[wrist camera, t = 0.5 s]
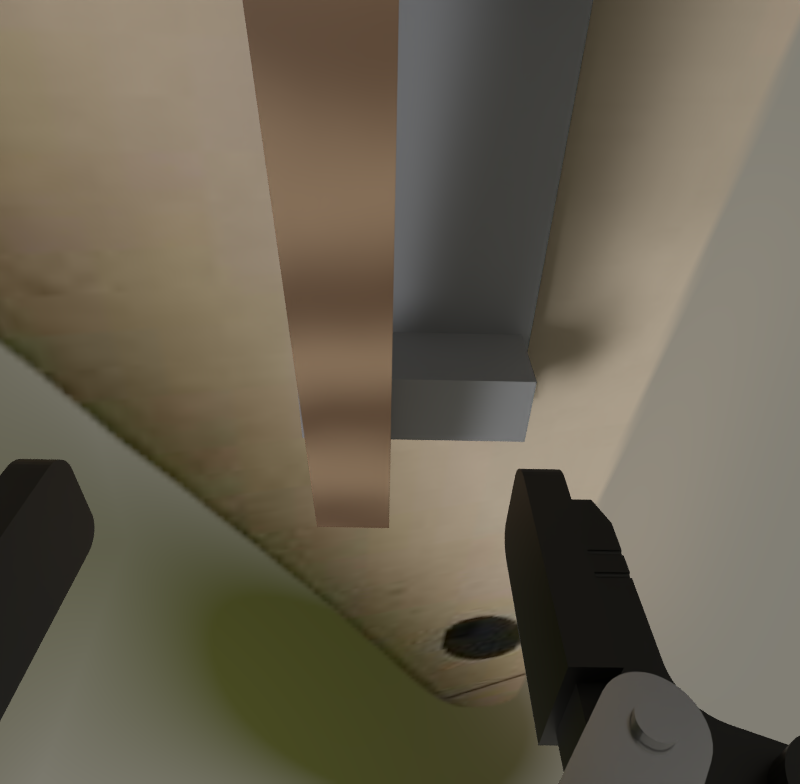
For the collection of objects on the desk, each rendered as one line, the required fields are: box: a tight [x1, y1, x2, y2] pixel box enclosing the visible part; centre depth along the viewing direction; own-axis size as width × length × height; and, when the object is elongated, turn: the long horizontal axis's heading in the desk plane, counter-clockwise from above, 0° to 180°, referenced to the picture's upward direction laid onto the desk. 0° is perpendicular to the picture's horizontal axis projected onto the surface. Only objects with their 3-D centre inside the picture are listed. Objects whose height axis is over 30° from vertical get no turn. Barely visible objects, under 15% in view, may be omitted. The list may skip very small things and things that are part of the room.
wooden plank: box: [243, 0, 399, 528], centre depth 20 cm, size 28×4×5 cm, turn 179°
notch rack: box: [298, 0, 593, 442], centre depth 25 cm, size 30×13×9 cm, turn 179°
